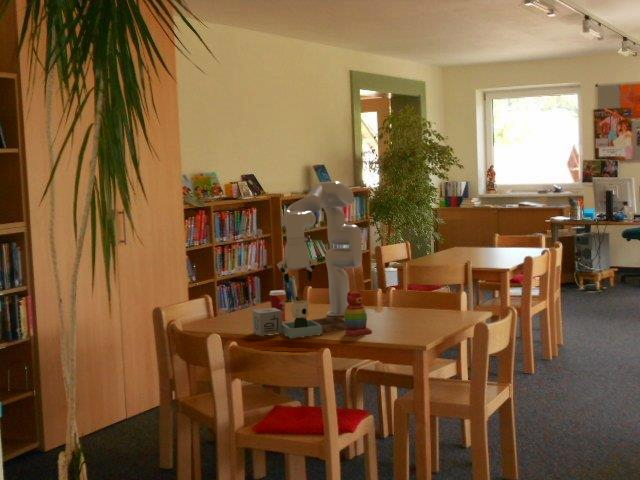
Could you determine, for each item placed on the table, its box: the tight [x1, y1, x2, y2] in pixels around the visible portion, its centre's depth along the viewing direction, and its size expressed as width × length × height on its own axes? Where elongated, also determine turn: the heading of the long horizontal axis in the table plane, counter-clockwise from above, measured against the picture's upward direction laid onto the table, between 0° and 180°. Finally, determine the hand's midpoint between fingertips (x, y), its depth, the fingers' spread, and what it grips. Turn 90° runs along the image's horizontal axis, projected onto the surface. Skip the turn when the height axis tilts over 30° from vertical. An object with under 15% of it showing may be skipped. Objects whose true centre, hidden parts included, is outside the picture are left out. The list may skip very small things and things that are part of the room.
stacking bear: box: [344, 290, 373, 337], centre depth 368 cm, size 11×10×18 cm
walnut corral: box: [312, 316, 347, 332], centre depth 386 cm, size 13×17×2 cm
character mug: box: [290, 300, 310, 328], centre depth 374 cm, size 11×7×13 cm, turn 154°
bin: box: [282, 319, 323, 339], centre depth 375 cm, size 14×16×4 cm
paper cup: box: [268, 289, 287, 322], centre depth 408 cm, size 8×8×14 cm
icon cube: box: [251, 307, 283, 337], centre depth 379 cm, size 10×10×10 cm
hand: (298, 281), depth 374 cm, fingers open, 9 cm apart
